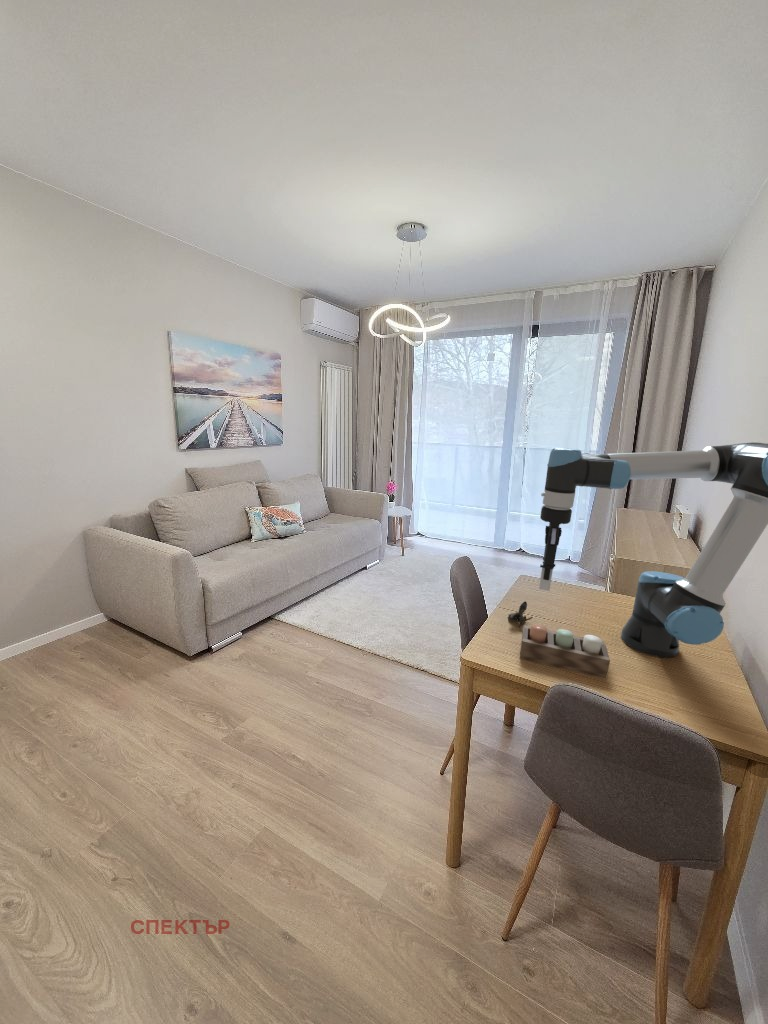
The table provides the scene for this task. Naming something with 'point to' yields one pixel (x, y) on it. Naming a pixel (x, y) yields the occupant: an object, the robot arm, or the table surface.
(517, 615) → the eagle figurine
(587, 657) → the wooden egg holder
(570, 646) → the sage button
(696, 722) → the table surface
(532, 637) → the pink rounded block
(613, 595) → the table surface
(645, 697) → the table surface
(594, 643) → the white rounded block
